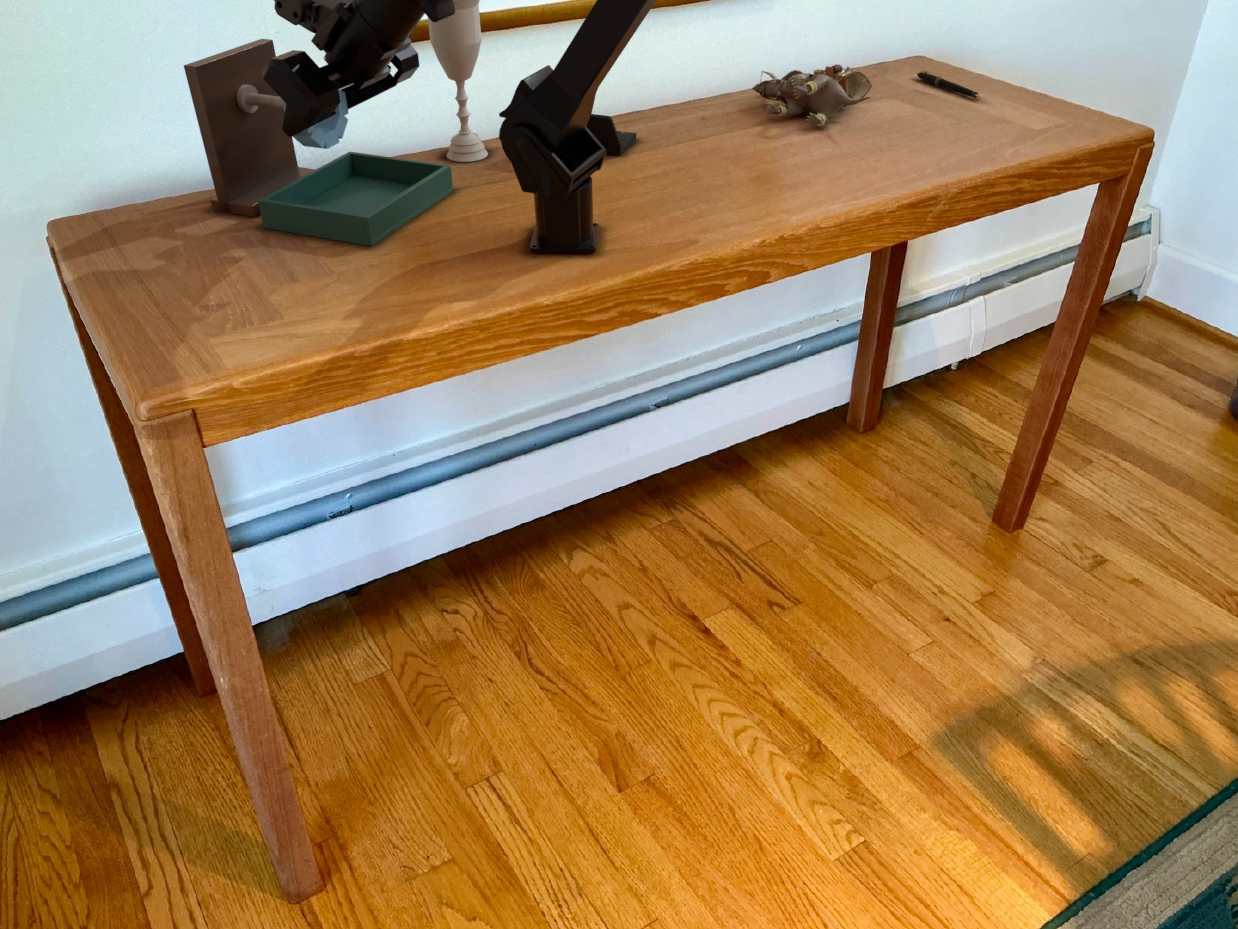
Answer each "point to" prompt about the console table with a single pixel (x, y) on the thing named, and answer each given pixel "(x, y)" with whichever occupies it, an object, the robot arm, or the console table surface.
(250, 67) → the hook rack
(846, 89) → the figurine
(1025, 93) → the console table surface
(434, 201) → the tray
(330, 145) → the blue segmented ring
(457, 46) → the chalice
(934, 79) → the fountain pen
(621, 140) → the bookend
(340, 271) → the console table surface
